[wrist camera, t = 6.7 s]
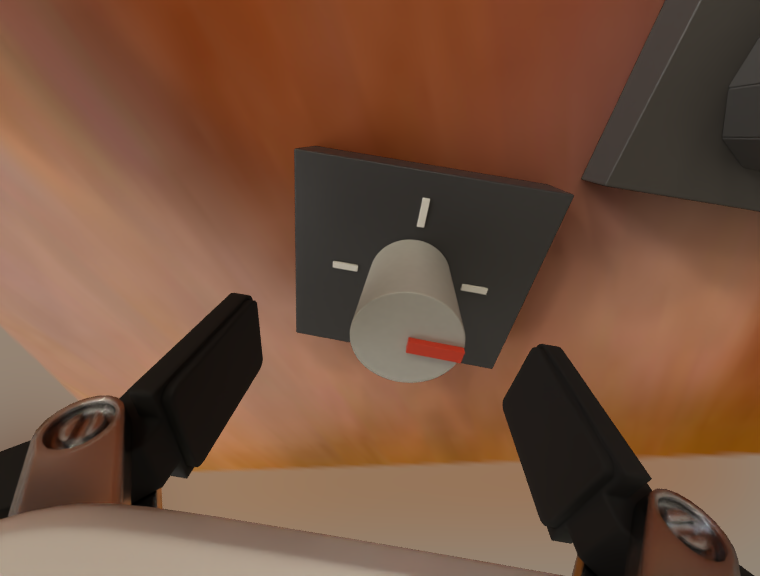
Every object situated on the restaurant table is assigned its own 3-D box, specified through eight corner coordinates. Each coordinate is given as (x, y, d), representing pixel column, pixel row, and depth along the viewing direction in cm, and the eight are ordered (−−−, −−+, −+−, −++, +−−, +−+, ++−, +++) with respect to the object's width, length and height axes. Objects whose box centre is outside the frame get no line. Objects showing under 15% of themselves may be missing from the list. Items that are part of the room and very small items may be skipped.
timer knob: (365, 302, 17) (342, 377, 12) (375, 232, 14) (354, 285, 9) (438, 316, 16) (448, 398, 11) (460, 247, 14) (484, 310, 9)
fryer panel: (310, 307, 21) (295, 334, 18) (314, 145, 16) (292, 148, 13) (482, 339, 21) (492, 371, 18) (548, 184, 15) (576, 195, 12)
